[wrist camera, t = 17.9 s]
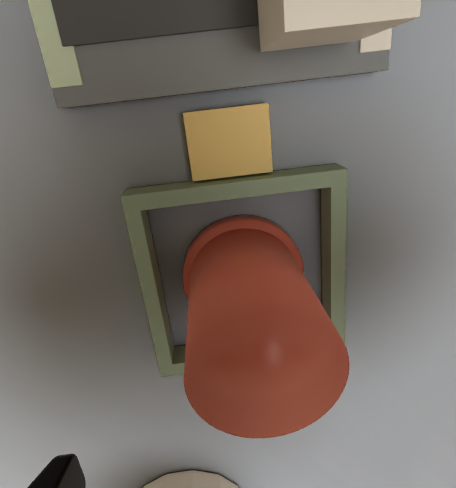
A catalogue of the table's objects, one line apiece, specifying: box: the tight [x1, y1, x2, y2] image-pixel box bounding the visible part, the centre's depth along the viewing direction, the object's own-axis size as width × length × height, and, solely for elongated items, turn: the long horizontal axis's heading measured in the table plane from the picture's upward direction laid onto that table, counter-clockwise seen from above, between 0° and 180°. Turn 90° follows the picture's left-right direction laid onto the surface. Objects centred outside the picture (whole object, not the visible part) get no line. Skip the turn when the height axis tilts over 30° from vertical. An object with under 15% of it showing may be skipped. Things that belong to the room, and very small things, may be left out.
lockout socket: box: [120, 103, 347, 377], centre depth 14 cm, size 8×11×1 cm
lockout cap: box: [183, 215, 349, 438], centre depth 13 cm, size 5×5×6 cm
